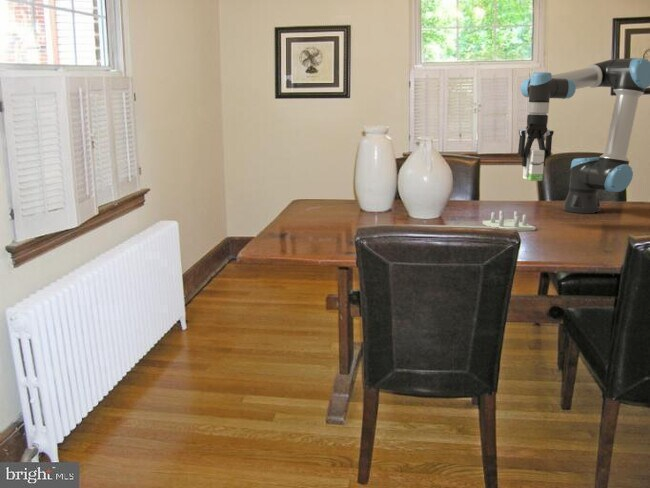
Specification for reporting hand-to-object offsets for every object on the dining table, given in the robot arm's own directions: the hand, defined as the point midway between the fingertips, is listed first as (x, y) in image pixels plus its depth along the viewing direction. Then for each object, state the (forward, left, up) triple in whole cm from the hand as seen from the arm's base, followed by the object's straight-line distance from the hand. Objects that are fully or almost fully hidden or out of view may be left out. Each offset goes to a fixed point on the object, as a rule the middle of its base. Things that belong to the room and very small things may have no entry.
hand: (532, 174), depth 271 cm
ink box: (0, 0, -2) cm, 2 cm away
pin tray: (+10, +3, -20) cm, 22 cm away
